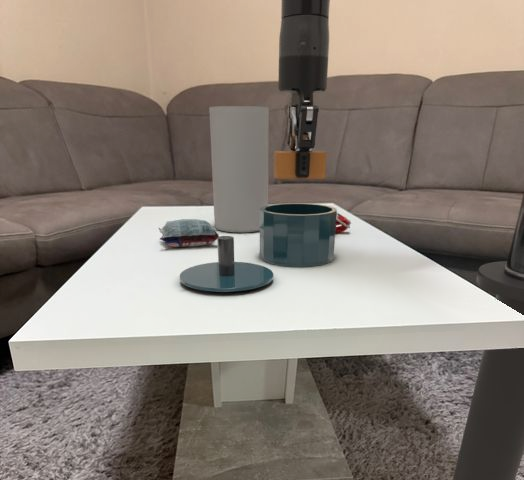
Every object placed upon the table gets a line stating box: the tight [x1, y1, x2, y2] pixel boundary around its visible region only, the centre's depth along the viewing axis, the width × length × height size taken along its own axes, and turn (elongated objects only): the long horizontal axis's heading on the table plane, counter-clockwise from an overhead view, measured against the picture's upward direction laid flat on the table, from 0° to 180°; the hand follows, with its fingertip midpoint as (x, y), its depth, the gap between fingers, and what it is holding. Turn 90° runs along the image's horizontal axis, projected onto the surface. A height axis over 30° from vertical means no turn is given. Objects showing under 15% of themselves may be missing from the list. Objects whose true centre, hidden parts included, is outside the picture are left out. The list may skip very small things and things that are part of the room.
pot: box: [259, 202, 338, 268], centre depth 81 cm, size 13×13×8 cm
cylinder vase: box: [208, 105, 270, 234], centre depth 101 cm, size 12×12×25 cm
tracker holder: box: [335, 212, 352, 234], centre depth 101 cm, size 12×4×10 cm
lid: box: [179, 235, 274, 293], centre depth 68 cm, size 14×14×7 cm
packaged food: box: [157, 218, 220, 248], centre depth 91 cm, size 9×12×5 cm
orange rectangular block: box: [273, 150, 328, 180], centre depth 76 cm, size 8×4×4 cm, turn 97°
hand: (299, 175), depth 77 cm, fingers closed on orange rectangular block, 4 cm apart
